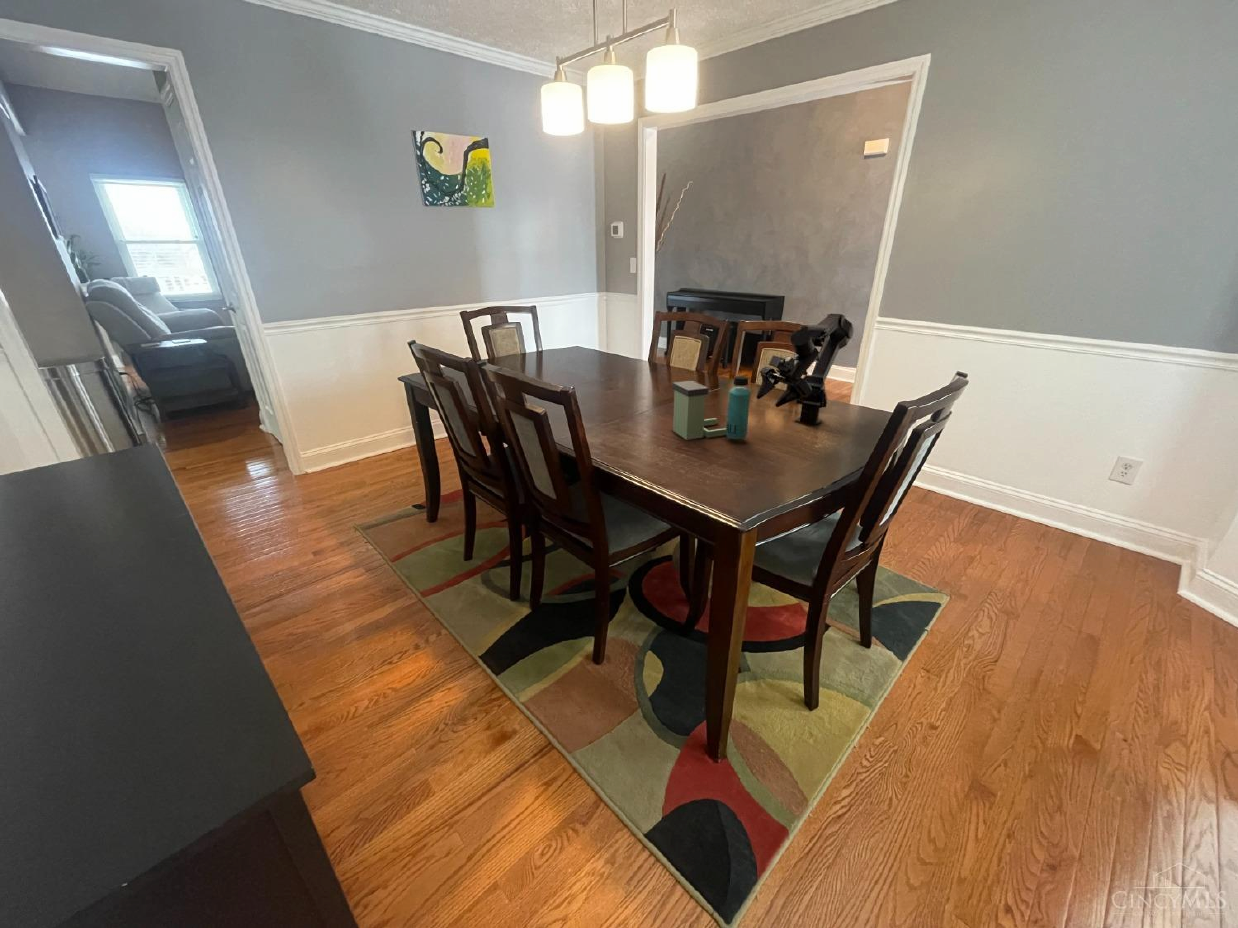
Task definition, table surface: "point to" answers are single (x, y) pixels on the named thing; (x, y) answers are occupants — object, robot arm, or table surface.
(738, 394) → the beverage bottle
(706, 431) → the drink station
